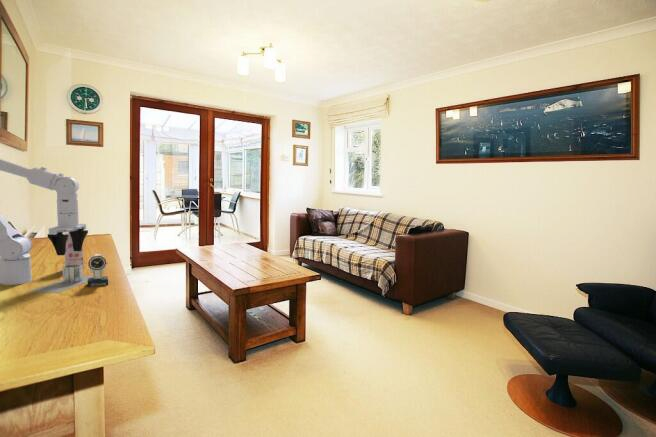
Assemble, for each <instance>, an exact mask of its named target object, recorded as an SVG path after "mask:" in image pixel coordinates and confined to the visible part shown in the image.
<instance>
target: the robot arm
mask: <svg viewBox="0 0 656 437" xmlns="http://www.w3.org/2000/svg"><path fill="white" fill-rule="evenodd" d="M0 171H1V172H5V173H9V174H12V175H16V176H19V177H22V178H25V179H26V180H27V181H28V183H29V184H31V185H33V186H37V187H41V188H44V189H47V190H51V191H55V192H56V197H57V198H56V210H57V212H56V213H57V216H56V217H57V226H53V227H49V228H48V234H47V238H48V239H49V241H50V242H51V244H52V246H53V247H54V251H55V253H56V255H57V256H65V250H66V241H67V238H68V236H69V235H65V233H67V232H69V234H70V236H71V239H72V243H73V250H74V251H81V249H82V245H83V246H84V244H83V243H84V241H85V238H86V237H87V235H88V233H89V230H88V229H87V223H80V221H79V200H78V190H79V189H80V184H79V182H78V181H77V179H75V178H72V177H71V176H64V173H61V172H60V173H56V172H53V171H51V170H48V168H47V167H45V166H41V167H38V166H36V167H33V168H29V167H26V166H23V165H20V164H17V163H15V162H12V161H9V160H6V159H3V158H2V157H1V158H0ZM32 249H33V242H32V240H31V239H30V238H29V237H27V236H25V235H24V234H22V233H21V232H20V231H19V230H17V229H15V228H14V227H12V225H10V223H9V222H8V221H7V220H6V219H5V217H4V216H3V215H2V214H1V213H0V285H4V286H14V285H15V286H16V285H21V284H22V285H23V284H27V283H30V282H32V281H33V279H32V262H31V260H32V259H31V257H32V256H31V254H30V252H31V250H32Z"/></svg>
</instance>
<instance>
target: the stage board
mask: <svg viewBox="0 0 656 437" xmlns="http://www.w3.org/2000/svg"><path fill="white" fill-rule="evenodd" d="M92 277H93V275H83V280H82V281H80V282H74V283H64V282H63V279H62V280H58V281H55V282H53V283H49V284H46V285H44V286H41V287H37V288H35V289H32V290H29V291H28V293H48V294H50V293H51V294H52V293H53V294H58V293H61V292H63V291H66V290H68V289H69V290H70V289H71V288H74V287H77V286H80V285H82V284H85V283H88V278H92Z"/></svg>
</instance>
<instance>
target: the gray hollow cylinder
mask: <svg viewBox="0 0 656 437" xmlns="http://www.w3.org/2000/svg"><path fill="white" fill-rule="evenodd" d="M83 271H84V270H83V267H82V265H81V264H73V265H66V266H65V265H64V266H62V280H63V282H64V283H74V282H80V281H82V280H83V276H84V273H83Z"/></svg>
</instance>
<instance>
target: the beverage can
mask: <svg viewBox="0 0 656 437" xmlns="http://www.w3.org/2000/svg"><path fill="white" fill-rule="evenodd" d="M64 235H69V236H68V238H67V241H66V250H65V255H64V266H66V265H73V264H81V265H82V267H83V269H84V266H85V265H84V244H83V245H82V249H81V251H74V250H73V243H72V239H71V236H70V234H69V232H65V233H64Z"/></svg>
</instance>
